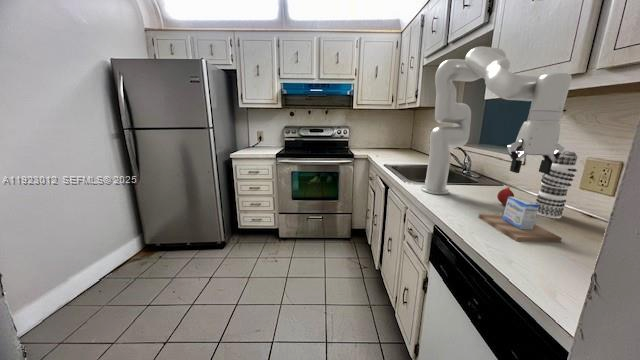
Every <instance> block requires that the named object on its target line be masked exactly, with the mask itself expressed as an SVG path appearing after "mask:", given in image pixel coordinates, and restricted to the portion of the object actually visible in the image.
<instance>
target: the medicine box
mask: <svg viewBox="0 0 640 360" xmlns="http://www.w3.org/2000/svg"><path fill="white" fill-rule="evenodd" d="M535 203H536V202H532V201H530V200H527V199H525V198H523V197H520V196H514V197H508V200H507V204H506V205H505V208H504V212H503V214H504V215H503V220H504V221H506V222H508V223H509V224H511V225H513V226H515V227H517V228H519V229H527V230H531V229H533V226H534V224H535V222H536V218H537V215H538V214H537V212H538V208H539V205H537V204H535Z"/></svg>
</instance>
